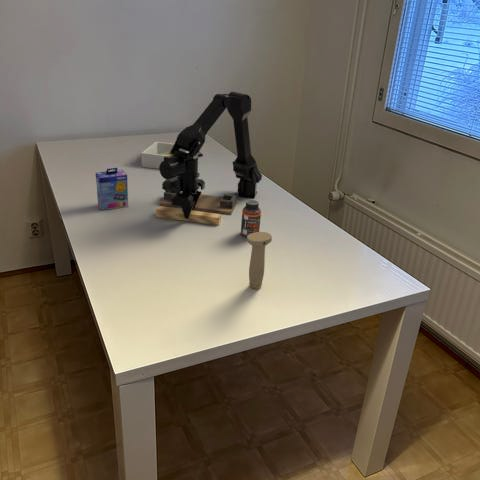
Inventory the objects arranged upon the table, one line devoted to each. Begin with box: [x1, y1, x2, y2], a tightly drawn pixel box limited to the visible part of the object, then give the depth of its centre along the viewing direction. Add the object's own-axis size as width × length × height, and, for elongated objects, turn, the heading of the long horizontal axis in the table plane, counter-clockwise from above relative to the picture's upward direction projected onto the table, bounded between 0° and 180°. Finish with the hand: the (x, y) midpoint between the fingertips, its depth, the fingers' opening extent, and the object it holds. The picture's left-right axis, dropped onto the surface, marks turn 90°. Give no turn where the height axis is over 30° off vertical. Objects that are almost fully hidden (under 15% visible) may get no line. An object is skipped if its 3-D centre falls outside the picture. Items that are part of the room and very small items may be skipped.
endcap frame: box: [159, 189, 239, 215], centre depth 177 cm, size 26×12×4 cm, turn 79°
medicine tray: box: [140, 141, 188, 170], centre depth 215 cm, size 18×18×6 cm
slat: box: [155, 205, 222, 226], centre depth 165 cm, size 22×3×3 cm, turn 78°
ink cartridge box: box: [95, 167, 129, 211], centre depth 169 cm, size 10×6×14 cm, turn 120°
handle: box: [246, 231, 273, 290], centre depth 127 cm, size 5×6×15 cm
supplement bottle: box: [240, 199, 262, 238], centre depth 156 cm, size 6×6×11 cm
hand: (188, 215), depth 165 cm, fingers open, 4 cm apart
